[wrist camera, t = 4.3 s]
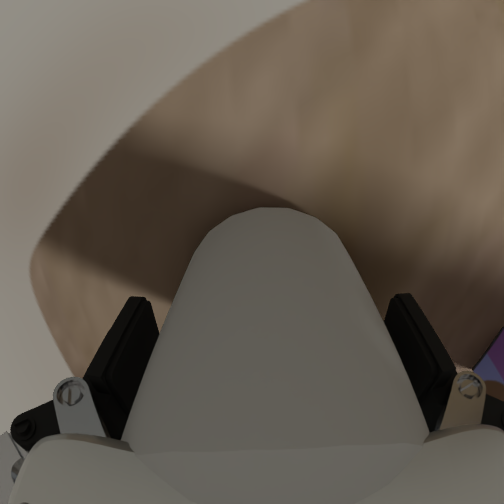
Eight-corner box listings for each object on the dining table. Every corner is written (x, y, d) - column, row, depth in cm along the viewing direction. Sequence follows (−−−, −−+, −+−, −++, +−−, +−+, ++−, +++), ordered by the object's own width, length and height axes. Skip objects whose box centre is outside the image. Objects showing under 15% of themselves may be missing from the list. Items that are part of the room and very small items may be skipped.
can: (212, 338, 16) (176, 552, 5) (175, 213, 13) (12, 489, 2) (345, 324, 15) (398, 539, 4) (345, 190, 12) (537, 471, 1)
